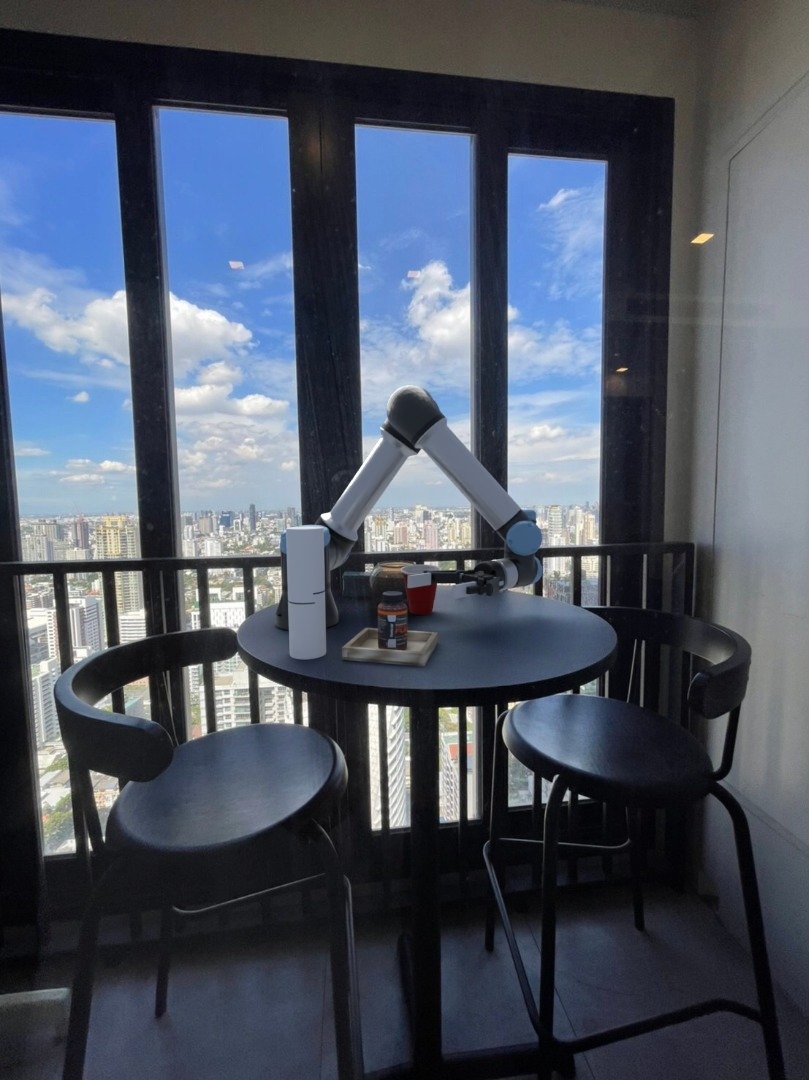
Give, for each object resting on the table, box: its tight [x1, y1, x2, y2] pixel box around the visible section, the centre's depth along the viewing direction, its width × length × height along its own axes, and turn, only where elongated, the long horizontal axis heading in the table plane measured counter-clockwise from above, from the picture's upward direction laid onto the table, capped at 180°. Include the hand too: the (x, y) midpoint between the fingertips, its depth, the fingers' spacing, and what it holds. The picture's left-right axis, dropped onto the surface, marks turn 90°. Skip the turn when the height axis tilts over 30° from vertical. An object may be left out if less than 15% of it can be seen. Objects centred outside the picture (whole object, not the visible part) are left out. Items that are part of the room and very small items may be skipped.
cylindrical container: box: [285, 526, 327, 660], centre depth 97 cm, size 7×7×25 cm
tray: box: [341, 627, 439, 667], centre depth 99 cm, size 16×14×2 cm
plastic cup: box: [400, 564, 443, 616], centre depth 130 cm, size 11×11×12 cm
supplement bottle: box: [377, 590, 408, 650], centre depth 99 cm, size 6×6×11 cm
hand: (429, 586), depth 104 cm, fingers open, 13 cm apart
